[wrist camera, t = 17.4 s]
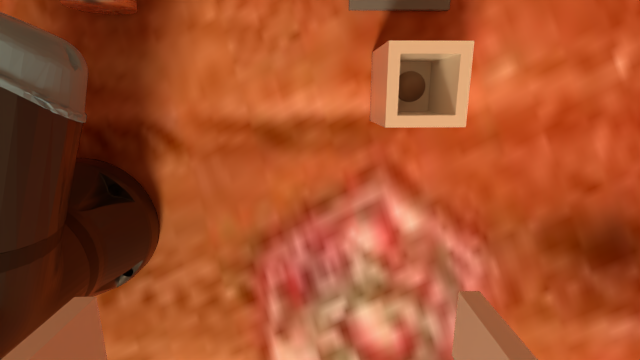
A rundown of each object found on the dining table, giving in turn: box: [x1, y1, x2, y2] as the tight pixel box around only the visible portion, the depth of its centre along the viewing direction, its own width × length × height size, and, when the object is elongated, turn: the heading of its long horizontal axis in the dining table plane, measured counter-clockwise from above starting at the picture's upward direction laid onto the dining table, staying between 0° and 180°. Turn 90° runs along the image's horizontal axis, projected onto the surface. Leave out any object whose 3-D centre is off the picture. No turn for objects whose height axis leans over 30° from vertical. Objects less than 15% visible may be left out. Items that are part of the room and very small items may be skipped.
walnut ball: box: [398, 71, 425, 102], centre depth 34 cm, size 3×3×3 cm
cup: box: [370, 41, 474, 127], centre depth 33 cm, size 7×7×8 cm
